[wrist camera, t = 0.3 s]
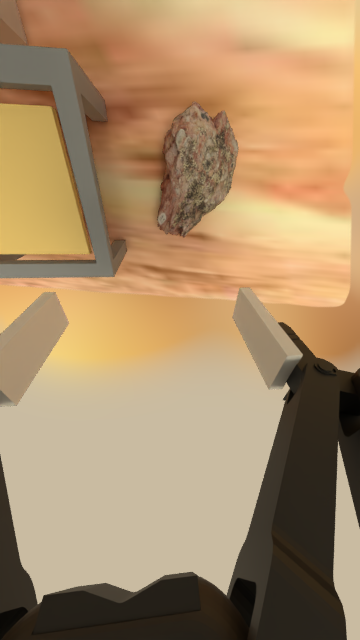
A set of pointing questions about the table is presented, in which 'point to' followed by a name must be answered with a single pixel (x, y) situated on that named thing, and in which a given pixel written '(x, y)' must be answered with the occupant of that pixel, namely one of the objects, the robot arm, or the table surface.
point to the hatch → (37, 185)
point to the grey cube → (11, 24)
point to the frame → (72, 104)
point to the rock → (195, 168)
